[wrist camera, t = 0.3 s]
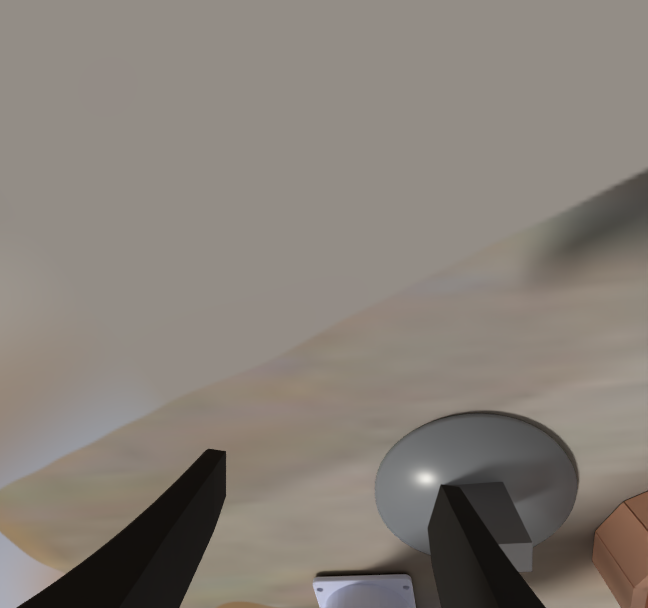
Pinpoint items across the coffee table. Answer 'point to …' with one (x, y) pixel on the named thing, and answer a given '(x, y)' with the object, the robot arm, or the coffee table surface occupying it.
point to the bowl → (625, 552)
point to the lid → (479, 481)
